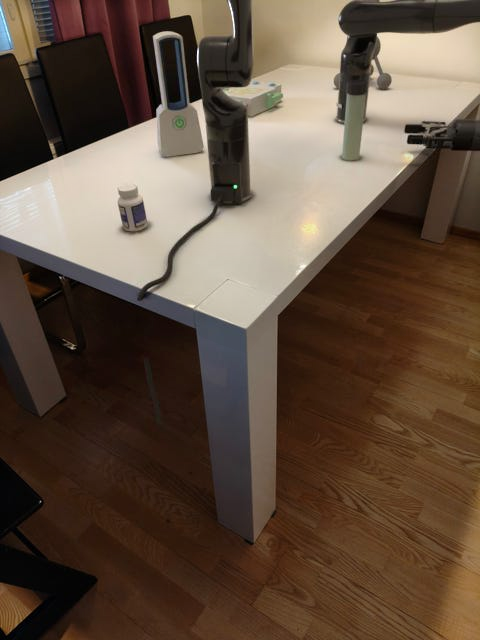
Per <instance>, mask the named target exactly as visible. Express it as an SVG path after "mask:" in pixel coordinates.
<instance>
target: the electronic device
mask: <svg viewBox="0 0 480 640" xmlns="http://www.w3.org/2000/svg"><path fill="white" fill-rule="evenodd" d="M152 40H153V48H154V54H155V61H156V70H157V76H158V83H159V92H160V98H161V103H160V104H159V106H158V107H157V108H156V113H155V114H156V134H157V137H156V138H157V147H158V149H159V152H160V154H162V155H163V156H164V157H166V158H168V157H176V156H182V155H190V154H191V155H192V154H197V153H201V152H202V150H203V149H204V147H205V146H204V141H203V140H204V139H203V135H202V129H201V125H200V124H201V123H200V120H199V113H198V109H196V108H195V106H194V105H193V104H192V103H191V102H190V95H189V87H188V86H189V84H188V78H187V77H188V76H187V75H188V74H187V67H186V58H185V49H184V38H183V36H182V35H181V34H179V33H177V32H174V31H169V30H166V31H161V32H160V31H159V32H157V33H155V34H154V35H152ZM167 41H174V48H175V49H174V50H175V56H176V65H177V75H178V82H179V91H180V100H179V101H176V102H170V100H169V99H170V98H169V92H168V84H167V83H168V82H167V77H166V69H165V61H164V54H163V53H164V51H163V46H162V43H163V42H167Z"/></svg>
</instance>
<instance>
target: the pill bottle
mask: <svg viewBox="0 0 480 640" xmlns="http://www.w3.org/2000/svg"><path fill="white" fill-rule="evenodd" d="M117 193H118V196H119V197H118V199H117V206H118V210H119V211H118V212H119V215H120V219H121V224H122V227H123V229H124V230H125V231H128V232H138V231H141V230H144V229H146V227H147V226H148V217H147V214H146V208H145V203H144V198H143V196H142V195H141V194H139V188H138V185H137V184H135V183H132V182H131V183H123V184H121V185H119V186H118V187H117Z"/></svg>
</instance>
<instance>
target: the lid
mask: <svg viewBox="0 0 480 640" xmlns="http://www.w3.org/2000/svg"><path fill="white" fill-rule="evenodd" d="M367 88H368V81H365V80H350V81H347V88H346V93H348V94H352V95H361V94H365V93H367Z"/></svg>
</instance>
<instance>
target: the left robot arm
mask: <svg viewBox="0 0 480 640" xmlns="http://www.w3.org/2000/svg"><path fill="white" fill-rule="evenodd" d="M226 2H227V5H228V7H229V10H230V11H229V12H230V15H231V19H232V26H233V35H205V36H203V37H202V38H201V39H200V41H199V42H198V46H197V54H196V63H197V64H196V65H197V72H198V80H199V86H200V94H201V104H202V110H203V114H204V122H205V132H206V144H207V155H208V166H209V167H208V168H209V179H210V201H211V202H214V203H215V204H214V206H213V209H212V211H211V213H210V214H209V215H208V216H207V218H205V219H204V220H203V221H201V222H199V223H198V224H196V225H194V226H193V227H191V228H190V229H189V230H188V231H187V232H186V233H185V234H183V235H182V237H180V238H179V239H178V240H177V241H176V242H175V244H174V245H173V246H172V247H171V249H170V250H169V253H168V256H167V266H166V269H165V273H164V274H163V275H162V276H161V277H159V278H157V279H153V280H151V281H149V282H148V283H146V284H144V285H143V286H142V287H141V289H140V291H139V293H138V295H137V299H136V301H138V302H141V301H143V299H144V296H145V294H146V293H147V291H148V290H149V289H151V288H153V287H155V286H157V285H160V284H162V283H164V282H165V281H167V280H168V279H169V277H170V275H171V273H172V271H173V259H174V255H175V253H176V251H177V250H178V249H179V248H180V246H181V245H182V244H183V243H184V242H185V241H186V240H187V239H188V238H189V237H190V236H191V235H193V233H195V232H197V230H199V229H201V228H202V227H204V226H206V225H207V224H208V223H209V222H211V221H212V220H213V218H214V217H215V216H216V214H217V212H218V210H219V207H220V206H221V205H242V204H243V202H246V201H248V200H250V198H251V196H252V190H251V165H250V162H251V161H250V138H249V135H250V134H249V116H248V110H247V107H246V106H245V105H244V104H243V103H241V102H239V101H236V100H234V99H232V98H231V97H229V96H228V95H227V94H225V93H224V91H223V88H232V89H233V88H243V87H247V86H248V85H249V84H251V83H252V80H253V75H254V65H255V64H254V63H255V59H254V58H255V57H254V56H255V55H254V54H255V52H254V51H255V50H254V27H253V25H254V24H253V0H226ZM142 359H143V364H144V369H145V373H146V378H147V383H148V387H149V390H150V395H151V398H152V403H153V407H154V411H155V416H156V420H157V425H158V426H162V425H163V419H162V413H161V409H160V405H159V400H158V397H157V392H156V388H155V384H154V380H153V376H152V370H151V366H150V360H149V357H143V358H142Z"/></svg>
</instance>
